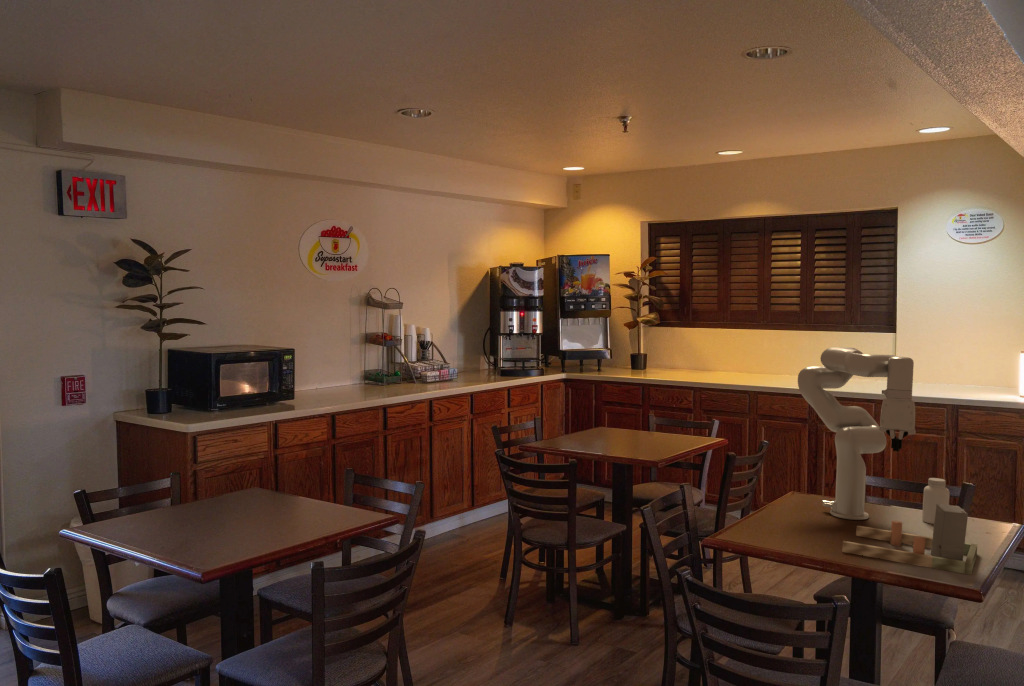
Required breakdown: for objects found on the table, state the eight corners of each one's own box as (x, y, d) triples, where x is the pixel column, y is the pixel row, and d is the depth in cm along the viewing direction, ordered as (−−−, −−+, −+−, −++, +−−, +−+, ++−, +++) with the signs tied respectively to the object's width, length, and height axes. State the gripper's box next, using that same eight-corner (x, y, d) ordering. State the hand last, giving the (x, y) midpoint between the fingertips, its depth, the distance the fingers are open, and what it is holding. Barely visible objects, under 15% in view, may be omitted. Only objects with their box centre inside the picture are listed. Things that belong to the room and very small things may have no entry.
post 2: (911, 561, 232) (913, 537, 232) (913, 559, 235) (914, 535, 234) (923, 563, 230) (924, 539, 230) (924, 561, 233) (925, 537, 233)
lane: (842, 551, 240) (842, 541, 240) (857, 534, 259) (857, 525, 259) (971, 574, 222) (971, 564, 222) (976, 554, 241) (977, 544, 241)
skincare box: (930, 555, 239) (932, 502, 238) (956, 557, 237) (958, 504, 237) (939, 564, 231) (941, 509, 230) (966, 566, 229) (969, 511, 228)
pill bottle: (927, 524, 274) (929, 481, 274) (918, 518, 282) (920, 476, 282) (952, 526, 273) (954, 482, 273) (942, 519, 281) (944, 477, 281)
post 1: (889, 544, 249) (890, 522, 249) (891, 542, 252) (892, 520, 251) (900, 546, 247) (901, 523, 247) (901, 544, 250) (902, 521, 250)
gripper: (872, 393, 262) (869, 449, 263) (923, 397, 254) (920, 455, 255) (876, 392, 268) (873, 446, 269) (926, 395, 260) (923, 452, 261)
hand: (896, 450), depth 262 cm, fingers closed
